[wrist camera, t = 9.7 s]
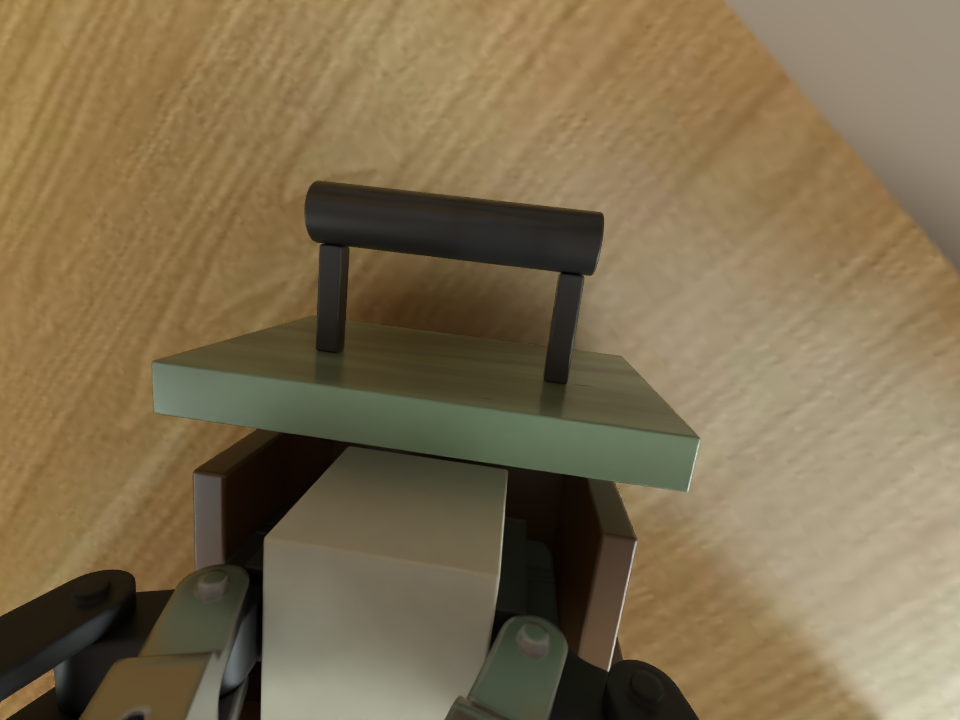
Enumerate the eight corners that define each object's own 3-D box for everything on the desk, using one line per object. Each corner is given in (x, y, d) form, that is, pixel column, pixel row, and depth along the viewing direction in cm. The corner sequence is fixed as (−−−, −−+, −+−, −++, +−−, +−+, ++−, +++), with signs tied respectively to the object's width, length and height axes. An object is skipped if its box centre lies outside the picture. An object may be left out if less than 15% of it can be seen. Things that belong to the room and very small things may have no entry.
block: (348, 444, 13) (262, 537, 9) (508, 468, 13) (500, 576, 8) (339, 583, 14) (258, 728, 10) (488, 608, 14) (471, 769, 9)
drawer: (315, 194, 17) (141, 144, 9) (645, 232, 16) (755, 212, 8) (300, 623, 21) (169, 836, 13) (563, 669, 20) (587, 923, 12)
